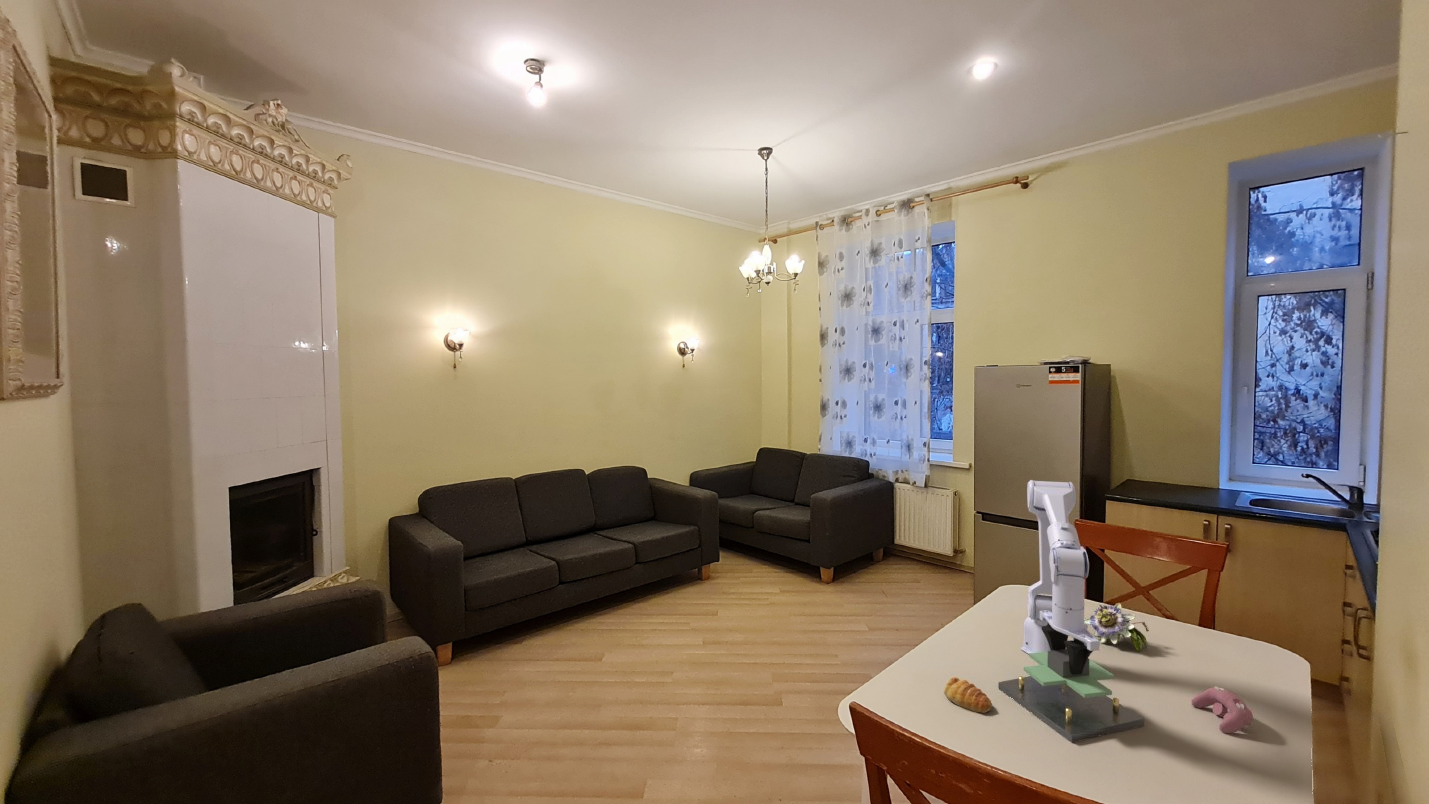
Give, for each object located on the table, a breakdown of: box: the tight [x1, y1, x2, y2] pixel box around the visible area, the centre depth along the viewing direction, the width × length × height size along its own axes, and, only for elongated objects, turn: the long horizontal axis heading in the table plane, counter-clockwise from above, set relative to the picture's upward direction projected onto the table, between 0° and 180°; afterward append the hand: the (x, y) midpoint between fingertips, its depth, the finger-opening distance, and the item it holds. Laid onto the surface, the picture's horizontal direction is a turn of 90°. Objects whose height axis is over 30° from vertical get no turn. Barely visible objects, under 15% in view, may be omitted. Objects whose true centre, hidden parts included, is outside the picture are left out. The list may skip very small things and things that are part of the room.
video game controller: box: [1191, 685, 1254, 734], centre depth 112 cm, size 10×5×7 cm, turn 169°
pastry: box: [943, 676, 993, 714], centre depth 121 cm, size 9×7×4 cm
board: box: [1023, 649, 1115, 698], centre depth 118 cm, size 16×16×4 cm
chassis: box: [997, 675, 1145, 743], centre depth 118 cm, size 19×18×4 cm
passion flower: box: [1084, 602, 1150, 653], centre depth 145 cm, size 11×11×12 cm
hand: (1067, 667), depth 118 cm, fingers closed on board, 4 cm apart
